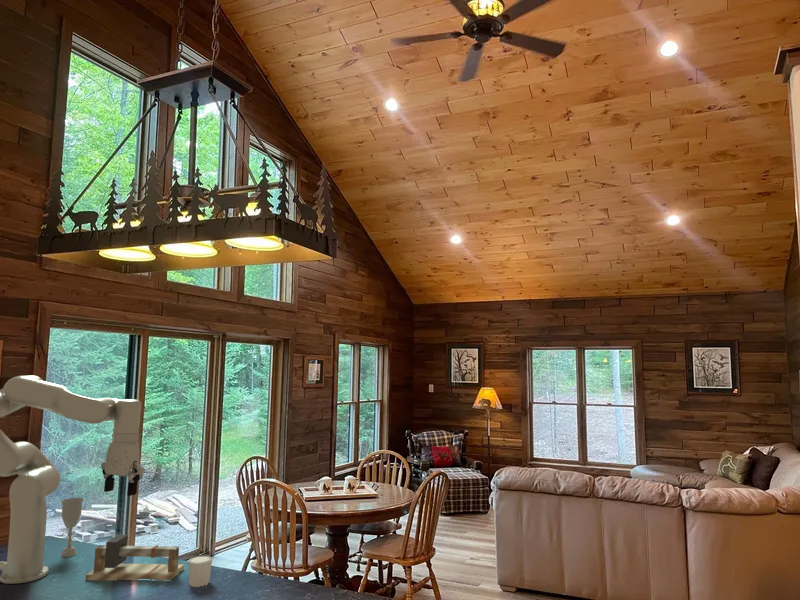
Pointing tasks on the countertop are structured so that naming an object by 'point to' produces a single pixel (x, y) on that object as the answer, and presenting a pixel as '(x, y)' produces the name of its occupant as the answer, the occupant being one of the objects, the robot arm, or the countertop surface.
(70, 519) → the chalice
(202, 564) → the cream short cylinder
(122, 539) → the collar
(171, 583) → the countertop surface
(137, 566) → the pipe rig
